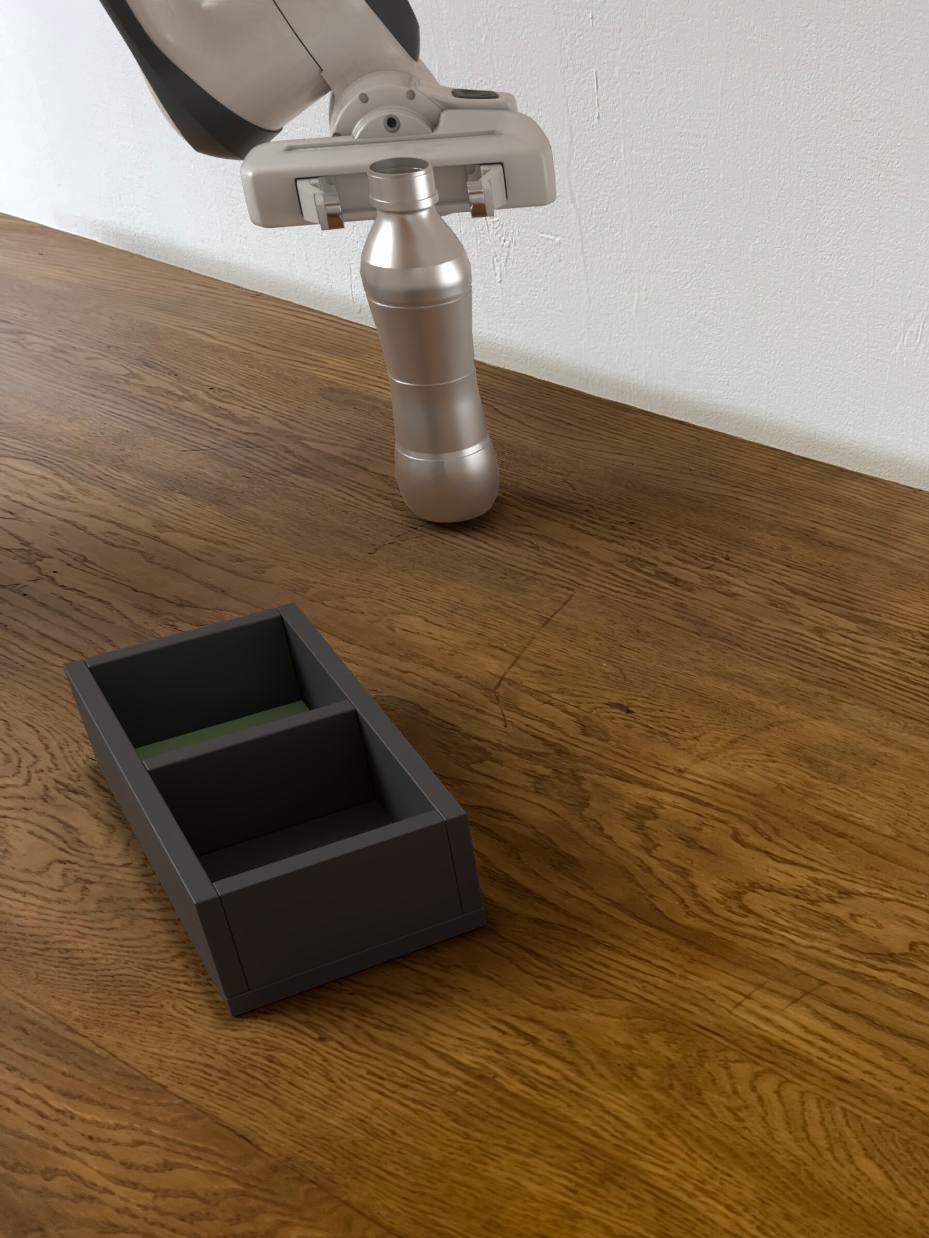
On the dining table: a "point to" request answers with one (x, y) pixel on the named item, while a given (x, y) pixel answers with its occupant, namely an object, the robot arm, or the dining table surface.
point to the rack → (277, 804)
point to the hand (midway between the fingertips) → (406, 210)
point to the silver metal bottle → (427, 346)
